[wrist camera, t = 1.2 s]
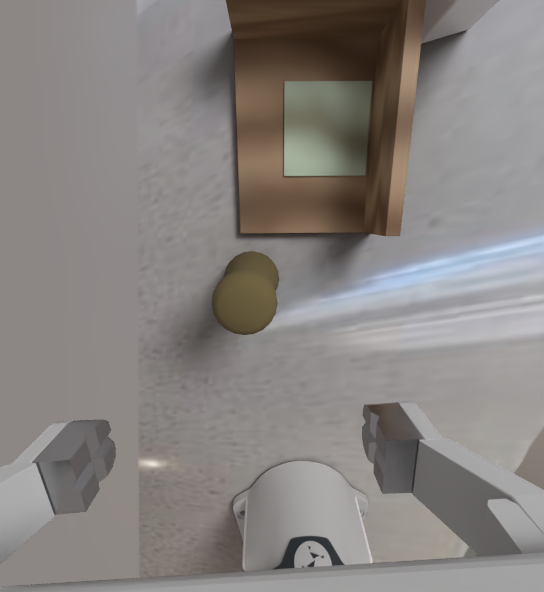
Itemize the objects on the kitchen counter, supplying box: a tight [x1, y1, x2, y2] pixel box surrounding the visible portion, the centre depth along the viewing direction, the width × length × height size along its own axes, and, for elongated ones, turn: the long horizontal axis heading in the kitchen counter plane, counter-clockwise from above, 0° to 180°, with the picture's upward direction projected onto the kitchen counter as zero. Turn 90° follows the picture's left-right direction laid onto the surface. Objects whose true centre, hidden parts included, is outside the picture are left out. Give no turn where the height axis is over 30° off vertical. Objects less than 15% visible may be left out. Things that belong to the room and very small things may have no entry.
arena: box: [226, 0, 426, 236], centre depth 25 cm, size 18×14×7 cm
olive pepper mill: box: [212, 251, 279, 335], centre depth 27 cm, size 6×6×11 cm
